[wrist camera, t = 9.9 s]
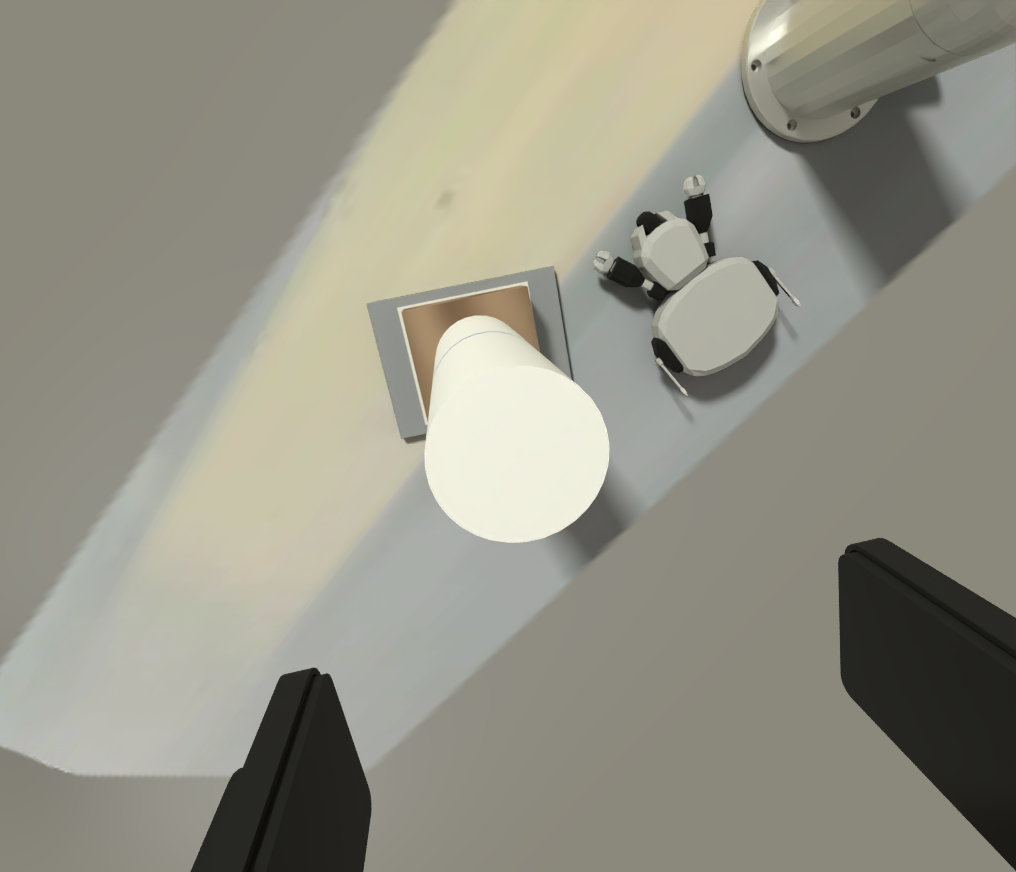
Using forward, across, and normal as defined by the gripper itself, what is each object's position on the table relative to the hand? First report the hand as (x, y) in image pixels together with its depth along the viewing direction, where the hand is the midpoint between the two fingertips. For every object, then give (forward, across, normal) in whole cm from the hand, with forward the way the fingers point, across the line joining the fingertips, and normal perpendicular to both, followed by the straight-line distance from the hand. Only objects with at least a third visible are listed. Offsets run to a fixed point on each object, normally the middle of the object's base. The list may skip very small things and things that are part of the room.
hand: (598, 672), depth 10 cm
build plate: (+42, 0, 0) cm, 42 cm away
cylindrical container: (+38, 0, 0) cm, 38 cm away
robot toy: (+43, -19, -2) cm, 47 cm away
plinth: (+41, 0, 0) cm, 41 cm away
